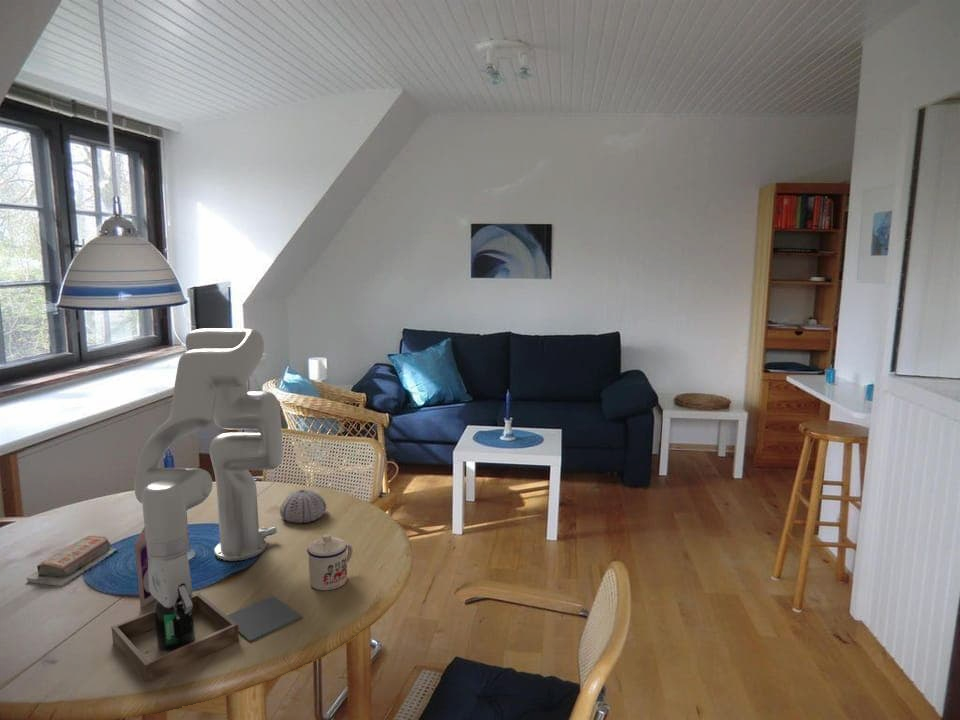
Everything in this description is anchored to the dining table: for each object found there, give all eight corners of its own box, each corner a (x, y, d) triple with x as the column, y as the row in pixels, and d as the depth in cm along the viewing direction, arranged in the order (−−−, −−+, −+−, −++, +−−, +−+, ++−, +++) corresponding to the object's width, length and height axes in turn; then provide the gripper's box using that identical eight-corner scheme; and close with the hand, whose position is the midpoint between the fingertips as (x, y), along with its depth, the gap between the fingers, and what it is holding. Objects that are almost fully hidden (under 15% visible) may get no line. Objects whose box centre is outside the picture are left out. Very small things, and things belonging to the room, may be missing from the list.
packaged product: (82, 532, 170) (116, 535, 168) (84, 549, 170) (118, 553, 169) (23, 565, 152) (60, 569, 150) (26, 584, 153) (63, 588, 151)
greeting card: (143, 608, 142) (137, 544, 139) (118, 602, 145) (111, 539, 142) (183, 583, 153) (178, 523, 150) (159, 577, 155) (154, 518, 153)
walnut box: (200, 607, 143) (199, 592, 142) (239, 640, 131) (238, 624, 130) (113, 642, 130) (111, 626, 129) (147, 682, 118) (145, 665, 117)
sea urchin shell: (302, 530, 182) (301, 503, 180) (269, 519, 189) (268, 493, 187) (336, 514, 193) (335, 488, 191) (304, 504, 200) (303, 479, 198)
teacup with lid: (326, 595, 148) (324, 548, 145) (300, 583, 153) (298, 537, 151) (365, 574, 157) (363, 529, 155) (339, 563, 162) (338, 519, 160)
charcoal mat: (273, 597, 147) (273, 595, 147) (302, 617, 139) (302, 616, 139) (222, 619, 138) (222, 617, 138) (250, 642, 130) (249, 640, 130)
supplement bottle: (177, 654, 126) (172, 597, 124) (149, 647, 128) (144, 591, 126) (202, 634, 133) (198, 580, 130) (175, 628, 135) (170, 575, 132)
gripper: (130, 536, 130) (138, 617, 133) (166, 565, 118) (174, 654, 121) (169, 524, 135) (176, 603, 138) (206, 551, 124) (213, 636, 127)
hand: (175, 626), depth 130 cm, fingers closed on supplement bottle, 6 cm apart
